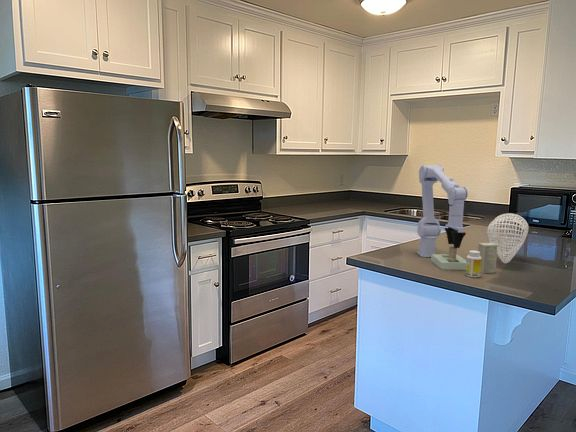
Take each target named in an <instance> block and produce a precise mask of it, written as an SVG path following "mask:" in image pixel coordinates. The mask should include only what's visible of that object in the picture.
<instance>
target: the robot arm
mask: <svg viewBox="0 0 576 432" xmlns="http://www.w3.org/2000/svg"><path fill="white" fill-rule="evenodd" d="M444 171H445V170H444V167H443V166H442V165H440V164H438V165H437V164H436V165H435V164H434V165H433V164H428V165H427V164H422V165H421V166H420V168H419V170H418V180H419V183H420V184H421V200H422V216H423V217H422V218H421V219H420V220H419V221H418V222H417V228H416V229H417V231H416V232H417V235H418V237H420V238H419V242H418V251H416V253H417V254H418V255H419V256H420V257H421V258H431V254H436V250H437V239H438V238H439V237H440V235H441V232H442V229H441V225H440V221H439V220H438V219H437V218H435V208H434V206H435V205H434V188H433V187H434V184H436V183H437V182H439V183H440V184H441V187H442V189H443V190H444V191H445V193H447V200H448V204H449V208H448V209H449V211H448V220H447V221H448V222H447V224H445V227H444V232H445V233H446V237H447V238H446V239H447V243H448V245H453V247H454V248H457V249H460V247H461V244H462V243H463V242H462V241H463V240H464V237H465V236H466V234H467V233H466V232H465V231H464V226H463V224H464V223H463V220H464V210H465V209H464V208H465V205H464V204H465V200H467V198H468V196H469V194H468V189H467V188H466V187H465V186H460V185H459V184H458V183H457V182H456V181H455V180H454V178H453V177H448V176H447V175H446V173H445V172H444Z"/></svg>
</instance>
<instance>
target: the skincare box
mask: <svg viewBox="0 0 576 432" xmlns="http://www.w3.org/2000/svg"><path fill="white" fill-rule="evenodd" d="M496 244H497V243H496ZM496 244H494V243H490V242H479V243H478V245H477V246H478V247H477V251H479V252H480V257H481V258H482V259H481V274H488V273H489V274H492V273H493V274H495V273H496V268H497V257H498V255H497V247H498V246H497V245H496Z"/></svg>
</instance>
